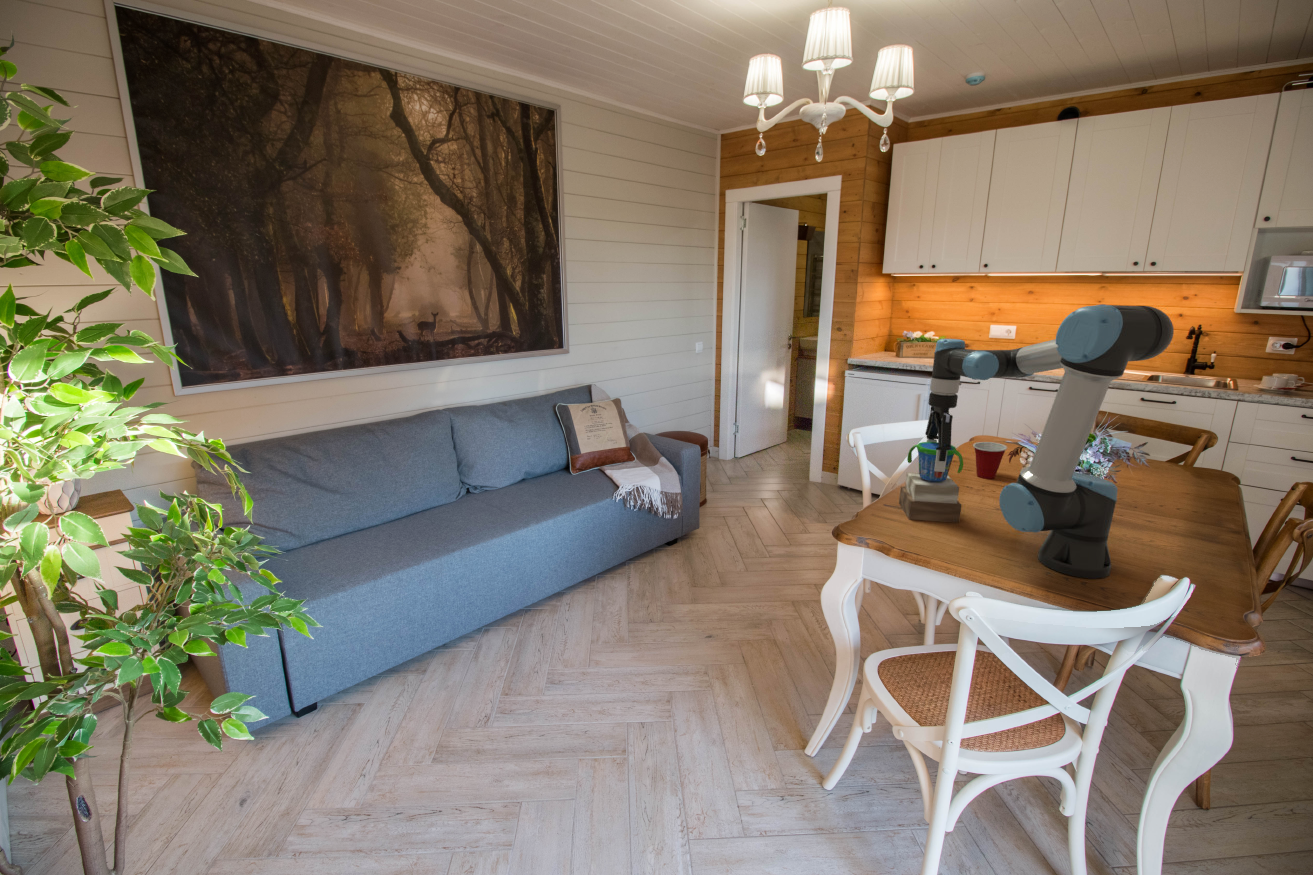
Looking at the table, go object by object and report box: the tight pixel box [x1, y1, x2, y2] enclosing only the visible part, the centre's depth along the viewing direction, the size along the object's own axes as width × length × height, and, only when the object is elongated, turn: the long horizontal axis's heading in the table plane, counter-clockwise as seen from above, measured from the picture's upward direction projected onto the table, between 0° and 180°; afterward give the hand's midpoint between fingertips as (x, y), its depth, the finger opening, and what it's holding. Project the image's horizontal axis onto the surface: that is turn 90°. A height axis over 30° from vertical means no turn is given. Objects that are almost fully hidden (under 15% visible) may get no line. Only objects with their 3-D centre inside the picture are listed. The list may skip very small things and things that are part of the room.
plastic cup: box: [972, 441, 1008, 480], centre depth 224 cm, size 11×11×12 cm
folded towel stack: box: [898, 472, 963, 524], centre depth 188 cm, size 14×14×10 cm
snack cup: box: [906, 441, 964, 482], centre depth 185 cm, size 16×10×10 cm
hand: (934, 465), depth 186 cm, fingers closed on snack cup, 11 cm apart
